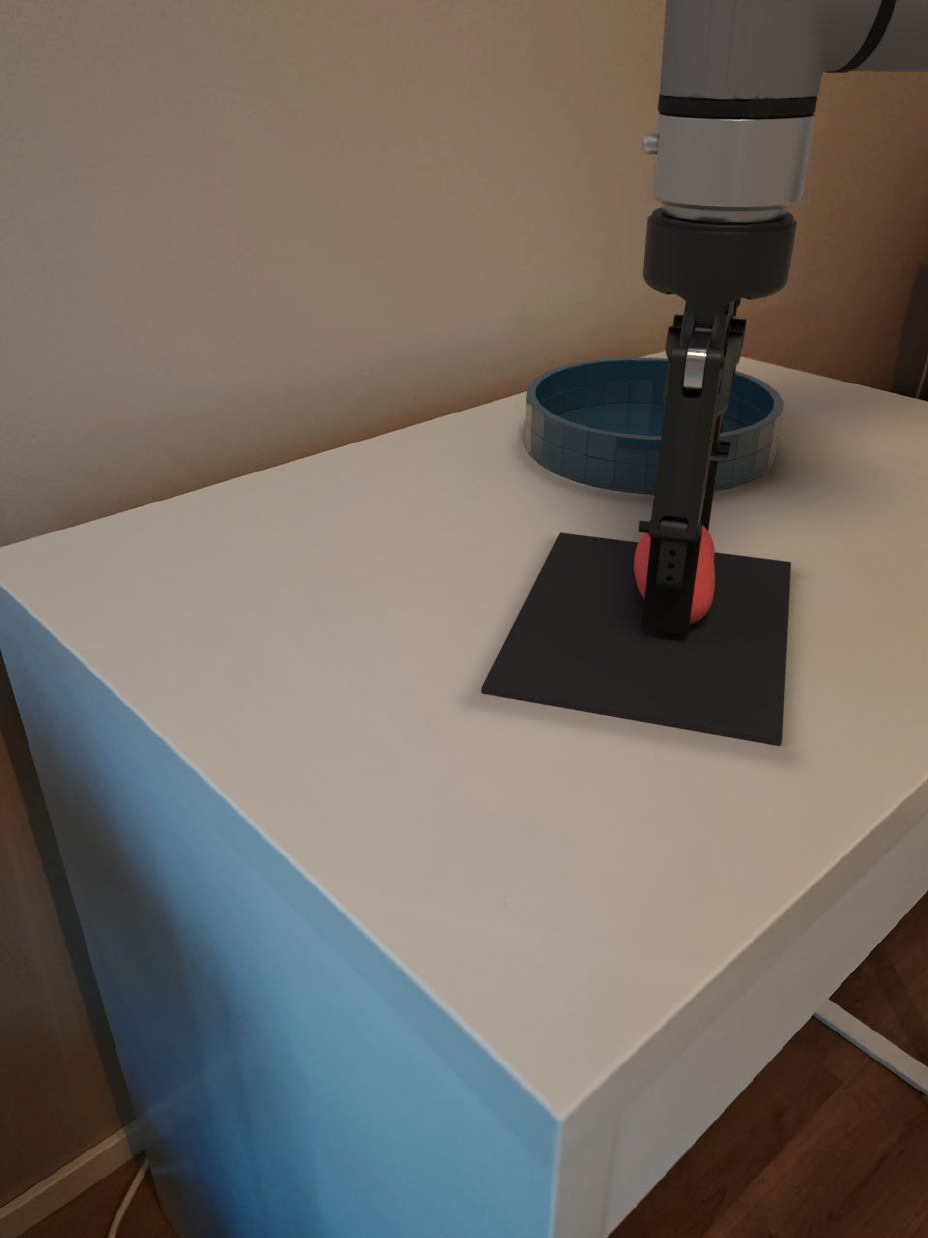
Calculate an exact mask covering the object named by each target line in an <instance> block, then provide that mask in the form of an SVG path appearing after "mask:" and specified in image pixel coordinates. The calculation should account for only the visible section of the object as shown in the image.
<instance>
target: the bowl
mask: <svg viewBox="0 0 928 1238" xmlns="http://www.w3.org/2000/svg"><path fill="white" fill-rule="evenodd" d="M667 366H668V358H667V357H666V358H664V357H637V356H636V357H635V356H634V357H628V356H626V357H610V358H609V357H607V358H598V359H591V360H583V361H579V362H575V363H570V364H565V365H560V366H559V367H556V368H552V369H550V370H547V371H545V372H544V373H541V374H540V375H538V376H537V377H535V378H534V379H533V380H531V382H530V384H529V385H528V386H527V387H526V395H525V430H524V443H525V447H526V451H527V452H528V454H529V456H531V457H532V459H533V460H534V461H535V462H537V463H538V464H539V465H541V466H542V467H543V468H545V469H547V470H549V471H551V472H552V473H554V474H557V475H559V476H562V477H564V478H566V479H569V480H571V481H574V482H577V483H580V484H585V485H587V486H588V485H589V486H593V487H597V488H601V489H606V490H612V491H618V492H625V493H637V494H644V495H645V494H646V495H647V494H648V495H654V492H655V484H656V476H657V469H658V461H659V453H660V445H661V438H662V430H663V422H664V415H665V407H666V406H665V404H664V401H663V393H664V386H665V379H666V373H667ZM784 404H785V401H784V399H783V398H782V396H781V395H780V393H779V391H778V390H776V389H775V388H773V387H772V386H771V385H770V384H769V383H767V382H765V381H763V380H761V379H759V378H756V377H755V376H752V375H751V374H750V375H749V374H748V373H744V372H741V371H737V370H735V376H734V381H733V383H732V384H731V389H730V395H729V402H728V407H727V410H726V411H725V412H724V413H723V421H722V424H723V425H724V429H723V433H722V434H720V438H719V441H727V442H731V445H730V452H729V457H728V458H719V457H710V460H712V461H718V465H717V473H716V480H715V487H714V492H716V491H720V490H725V489H730V488H733V487H736V486H739V485H744V484H745V483H748V482H750V481H753V480H755V479H756V478H758V477H760V476H762V475H763V474H765V473H766V472H767V471H768V470H769V469H770V468H771V466H772V465H773V464H774V462H775V459H776V454H777V449H778V443H779V437H780V431H781V426H782V419H783V414H784Z"/></svg>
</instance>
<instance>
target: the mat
mask: <svg viewBox="0 0 928 1238" xmlns="http://www.w3.org/2000/svg"><path fill="white" fill-rule="evenodd" d="M638 543H639V541H631V540H623V539H615V538H610V537H609V538H608V537H600V536H593V535H586V534H585V535H583V534H577V533H570V532H561V531H560V532H559V533H558V535H557V537H556V539H555V541H554V543H553V544H552V546H551V549H550V550H549V553H548V555H547V557H546V559H545V561H544V563H543V565H542V567H541V568H540V571H539V573H538V574H537V577H536V579H535V581H534V583H533V585H532V587H531V588H530V591H529V592H528V594H527V597H526V598H525V601H524V603H523V604H522V606H521V609H520V610H519V612H518V614H517V616H516V618H515V620H514V622H513V624H512V626H511V628H510V630H509V632H508V634H507V636H506V637H505V640H504V642H503V644H502V646H501V648H500V650H499V652H498V654H497V656H496V658H495V660H494V661H493V664H492V666H491V667H490V669H489V672H488V674H487V676H486V678H485V680H484V682H483V683H482V685H481V694H487V695H493V696H498V697H503V698H509V699H515V700H520V701H526V702H532V703H538V704H544V705H549V706H554V707H559V708H565V709H571V710H572V709H573V710H577V711H583V712H587V713H593V714H600V715H606V716H610V717H611V716H612V717H615V718H617V717H618V718H623V719H629V720H633V721H639V722H645V723H651V724H656V725H662V726H667V727H673V728H679V729H683V730H684V729H685V730H689V731H697V732H701V733H702V732H703V733H708V734H713V735H719V736H724V737H730V738H735V739H742V740H747V741H752V742H757V743H764V744H769V745H774V746H775V745H776V746H782V743H783V734H784V733H783V732H784V731H783V730H784V711H785V710H784V709H785V692H786V691H785V690H786V670H787V650H788V631H789V614H790V613H789V610H790V590H791V573H792V571H791V569H792V562H791V561H786V560H779V559H771V558H763V557H755V556H749V555H748V556H746V555H740V554H733V553H723V552H715V551H714V567H715V588H714V595H713V600H712V604H711V606H710V608H709V610H708V612H707V613H706V614H705V615H704V616H703V618H702V619H700V620H699V621H697V622H695V623H693V624H690V625H689V631H688V635H682V634H675V633H669V632H662V631H655V630H649V629H642V628H641V626H642V616H643V607H644V599H643V597H642V595H641V593H640V591H639V589H638V586H637V582H636V578H635V572H634V559H635V552H636V549H637V545H638Z"/></svg>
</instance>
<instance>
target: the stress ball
mask: <svg viewBox="0 0 928 1238" xmlns="http://www.w3.org/2000/svg"><path fill="white" fill-rule="evenodd" d="M650 540H651V537H649V535H648V533H643V534H642V536H641V537H640V539H639V541H638V542H639V543H638V545H637V549H636V552H635V559H634V572H635V578H636V582H637V586H638V589H639V591H640V593H641V595H642V597H643V599H644V597H645V588H646V578H647V569H648V559H649V550H650ZM714 552H715V544H714V540H713V537H712V535H711V534H710V532H709V530H708V531H707V529H706V528H705V527H704V526H703V525H702V537H701V544H700V551H699V559H698V566H697V574H696V581H695V588H694V596H693V603H692V610H691V618H690V624H693V623H695V622H697V621H699V620H700V619H702V618H703V616H704V615H705V614H706V613H707V612H708V610H709V608H710V606H711V604H712V600H713V595H714V588H715V567H714Z"/></svg>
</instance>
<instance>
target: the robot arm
mask: <svg viewBox="0 0 928 1238" xmlns="http://www.w3.org/2000/svg"><path fill="white" fill-rule="evenodd" d="M664 11H665V12H664V26H663V38H662V39H663V40H662V54H661V68H660V69H661V70H660V83H659V85H660V86H659V96H658V101H657V102H658V104H657V111H658V114H657V120H656V128H657V132H651V133H647V134H645V136H644V138H643V141H642V142H641V150H642V151H643V152H644V154H647V155H657V157H656V161H655V162H654V163H653V164H652V173H651V174H652V175H651V184H650V185H651V186H650V187H651V188H650V196H651V197H652V198H653V199H654V200H655V201H656V202H657V203H660V204H661V206H660V207H658V208H655V209H653V211H652V212H651V214H650V215H648V216H647V218H646V229H645V241H644V253H643V266H642V278H643V281H644V282H645V284H646V285H647V286H648V287H649V288H651V289H652V290H654V291H656V292H658V293H661V294H664V295H667V296H668V295H675V296H678V297H679V298H681V299H682V300H683V301H685V303H684V304H685V305H684V310H683V314H674V316H673V321H672V325H669V326H668V330H667V335H666V342H665V355H666V359H668V366H667V373H666V379H665V386H664V393H663V401H664V404H665V406H666V407H665V415H664V422H663V430H662V438H661V445H660V453H659V461H658V469H657V476H656V484H655V492H654V494H653V501H652V507H651V516H650V520H648V521H647V520H639V522H638V533H643V534H644V533H648V535H649V537H651V540H650V550H649V559H648V569H647V578H646V588H645V597H644V607H643V616H642V626H641V628H642V629H649V630H655V631H662V632H669V633H675V634H682V635H688V631H689V625H690V618H691V610H692V603H693V596H694V588H695V581H696V574H697V566H698V559H699V551H700V544H701V537H702V525H703V526H704V527H705V528H706V529H707V531H708V532H709V528H710V521H711V515H712V507H713V500H714V494H715V491H714V487H715V480H716V473H717V465H718V461H712V460H710V457H719V458H728V457H729V452H730V445H731V442H727V441H719V438H720V434H722V433H723V429H724V425H723V424H722V421H723V413H724V412H725V411H726V410H727V407H728V402H729V395H730V389H731V384H732V383H733V381H734V376H735V371H737V370H736V369H737V365H738V364H739V363H740V360H741V355H742V350H743V346H744V342H745V336H746V328H747V321H748V319H746V318H737V313H738V308H739V307H740V306H741V300H742V299H746V300H750V301H751V300H752V301H753V300H757V299H763V298H769V297H771V296H774V295H775V294H777V293H779V292H780V291H782V290H783V289H784V288H785V286H786V285H787V283H788V281H789V275H790V270H791V269H790V268H791V263H792V257H793V250H794V245H795V244H794V243H795V238H796V237H795V236H796V233H797V232H796V231H797V226H798V221H796V220H795V219H794V218H795V217H794V215H793V214H792V213H791V212H788V208H790V207H794V206H795V205H796V204H797V203H798V202H800V201H801V200H802V199H803V195H804V190H805V185H806V184H805V183H806V177H807V172H808V171H807V170H808V165H809V158H810V152H811V146H812V140H813V134H814V128H815V122H816V115H817V114H816V109H817V101H818V96H819V93H820V87H821V82H822V78H823V73H827V74H844V73H845V74H846V73H848V72H879V73H880V72H881V73H882V72H884V73H888V72H889V73H928V0H665V10H664Z"/></svg>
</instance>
